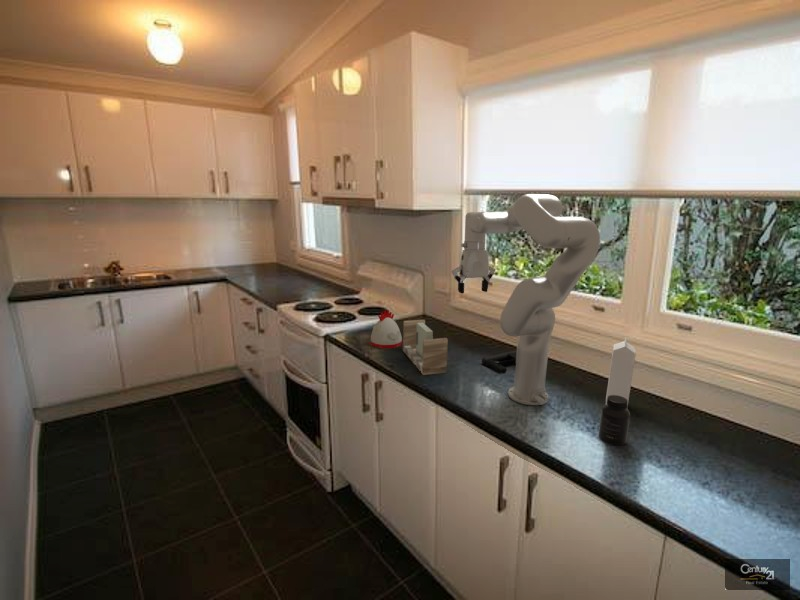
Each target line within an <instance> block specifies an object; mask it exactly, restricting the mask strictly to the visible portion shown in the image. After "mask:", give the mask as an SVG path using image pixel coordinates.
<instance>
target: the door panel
mask: <svg viewBox="0 0 800 600" xmlns="http://www.w3.org/2000/svg"><path fill="white" fill-rule="evenodd" d="M433 335H434V331H433V330H432V329H431V328H430V327H429V326H427V325H426V323H425V324H424V323H417V332H416V353H417V354H418V355H419V356H420V357H421V359H422V355H423V340H426V339H434V336H433Z"/></svg>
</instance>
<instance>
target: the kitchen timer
mask: <svg viewBox="0 0 800 600" xmlns="http://www.w3.org/2000/svg"><path fill="white" fill-rule="evenodd" d="M377 316H378V319H379V320H378V321H377V322H376V324H375V325H374V326H373V328H372V332H371V335H370V345H371V344H372V345H373V346H372V345H371V346H372V347H374V346H376V347H375V348H377V347H379V348H378V349H387V348H388V349H395V347H396V348H398V346H399V347H400V346H401V345H403V339H402V338H403V336H402V333H401V331H400V330H401V329H400V328H399V325H398V324H397V322H396V321H395V320H394V316H395V314H394V313H392V311H390V310H388V309H387V310H384V311H380V315H379V314H378V315H377Z"/></svg>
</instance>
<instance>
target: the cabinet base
mask: <svg viewBox="0 0 800 600" xmlns="http://www.w3.org/2000/svg"><path fill="white" fill-rule="evenodd" d="M417 323H424V324H425V325H426V319H413V320H403V325H402V326H403V328H402V329H403V331H402V332H403V333H402V335H403V336H402V338H403V339H402V352H404V354H406V357H408V358H409V360H410V361H411V362H412V363H413V364H414V366H415V365H416V366H415V367H416V368H417V369H418V370H419V372H420V371H421V372H420V373H421V374H422V376H427V375H434V374H435V375H436V374H445V373H447V367H448V366H447V365H448V363H447V362H448V345H449V344H448V342H449V339H448V338H447V337H440V338H433V339H426V340H423V355H422V359H421V357H420V356H419V355H418V354H417V353H416V332H417Z"/></svg>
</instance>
